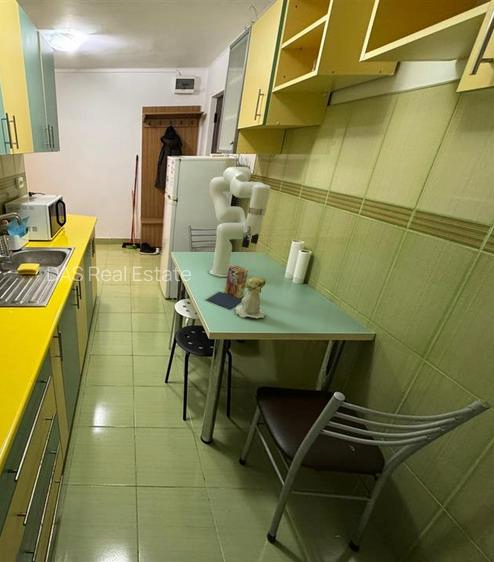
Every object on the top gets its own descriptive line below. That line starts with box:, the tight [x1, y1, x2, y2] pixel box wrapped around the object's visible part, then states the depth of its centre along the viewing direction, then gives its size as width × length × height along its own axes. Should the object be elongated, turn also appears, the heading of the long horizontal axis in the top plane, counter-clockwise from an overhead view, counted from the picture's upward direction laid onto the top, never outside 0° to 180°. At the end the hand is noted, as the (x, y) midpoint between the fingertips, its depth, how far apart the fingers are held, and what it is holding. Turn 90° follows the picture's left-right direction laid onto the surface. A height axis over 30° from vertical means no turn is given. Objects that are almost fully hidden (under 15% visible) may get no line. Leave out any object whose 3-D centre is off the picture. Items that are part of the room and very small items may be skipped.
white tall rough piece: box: [235, 276, 267, 319], centre depth 138 cm, size 12×13×18 cm
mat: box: [206, 291, 243, 310], centre depth 154 cm, size 14×13×1 cm
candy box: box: [223, 264, 249, 299], centre depth 158 cm, size 9×4×15 cm, turn 39°
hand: (249, 245), depth 153 cm, fingers open, 9 cm apart
